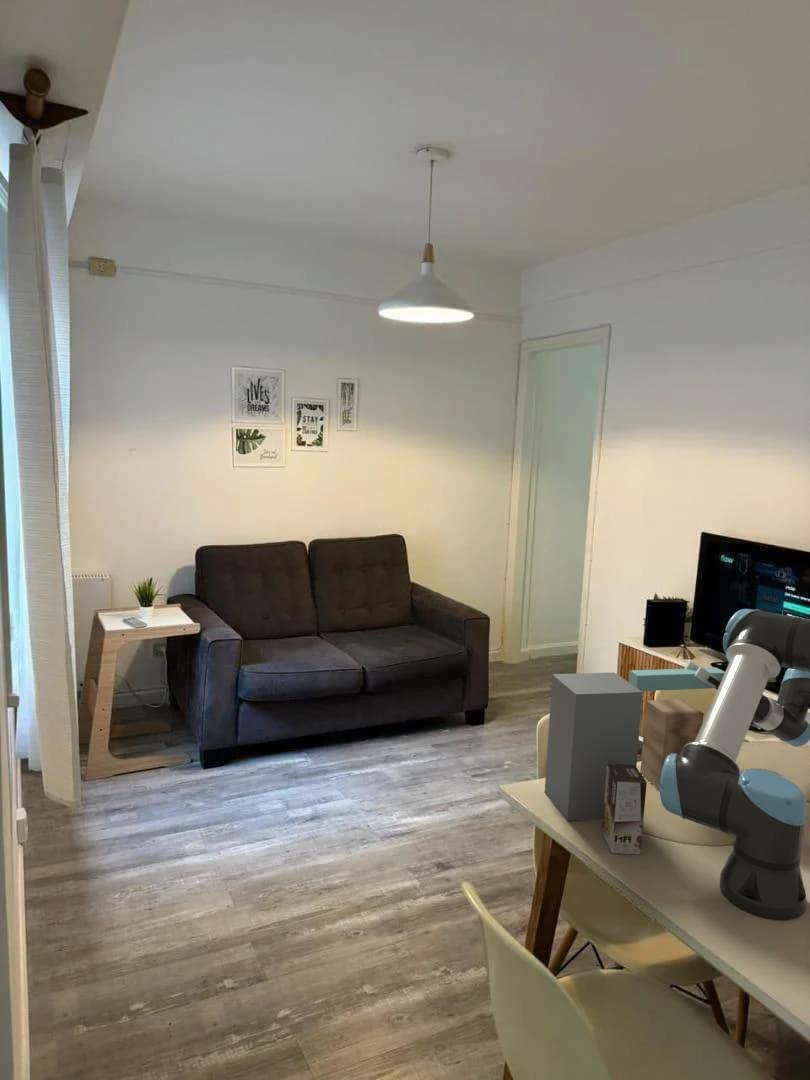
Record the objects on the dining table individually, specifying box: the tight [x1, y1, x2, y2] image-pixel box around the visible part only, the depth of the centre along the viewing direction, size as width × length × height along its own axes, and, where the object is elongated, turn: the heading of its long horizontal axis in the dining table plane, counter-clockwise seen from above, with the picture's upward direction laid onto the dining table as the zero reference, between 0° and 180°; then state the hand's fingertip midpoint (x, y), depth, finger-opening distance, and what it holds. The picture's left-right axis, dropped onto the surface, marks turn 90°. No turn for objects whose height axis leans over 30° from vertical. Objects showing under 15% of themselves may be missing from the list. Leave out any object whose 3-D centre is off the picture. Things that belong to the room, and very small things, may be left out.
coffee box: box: [601, 764, 648, 856], centre depth 164 cm, size 9×6×16 cm
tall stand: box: [544, 672, 644, 822], centre depth 179 cm, size 16×14×30 cm
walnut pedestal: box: [639, 698, 705, 792], centre depth 193 cm, size 10×10×20 cm
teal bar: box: [628, 667, 726, 692], centre depth 191 cm, size 24×4×4 cm, turn 101°
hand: (692, 668), depth 192 cm, fingers closed on teal bar, 4 cm apart
